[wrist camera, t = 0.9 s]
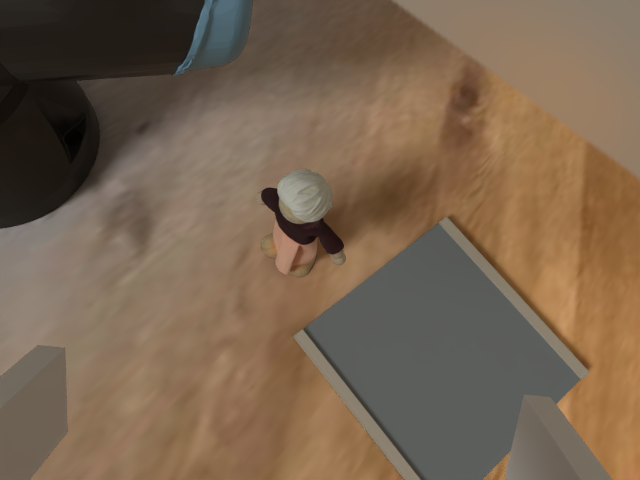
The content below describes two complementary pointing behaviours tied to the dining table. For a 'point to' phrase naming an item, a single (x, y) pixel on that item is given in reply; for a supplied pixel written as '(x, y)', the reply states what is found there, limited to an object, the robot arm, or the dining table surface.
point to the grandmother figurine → (300, 222)
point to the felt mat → (439, 358)
